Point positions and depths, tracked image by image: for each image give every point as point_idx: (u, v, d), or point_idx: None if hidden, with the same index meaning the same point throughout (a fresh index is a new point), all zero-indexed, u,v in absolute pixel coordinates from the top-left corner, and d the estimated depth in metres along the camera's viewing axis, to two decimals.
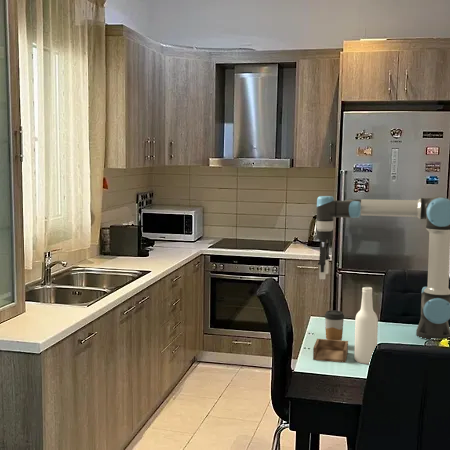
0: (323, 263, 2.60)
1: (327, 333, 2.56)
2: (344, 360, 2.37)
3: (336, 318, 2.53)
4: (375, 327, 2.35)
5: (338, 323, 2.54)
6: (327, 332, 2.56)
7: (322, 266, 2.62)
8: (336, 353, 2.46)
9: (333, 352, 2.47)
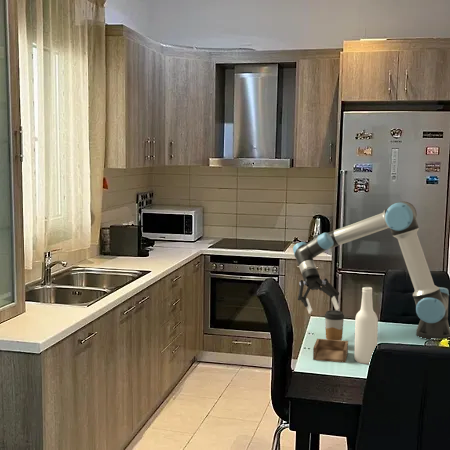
0: (299, 297, 2.65)
1: (327, 333, 2.56)
2: (344, 360, 2.37)
3: (336, 318, 2.53)
4: (375, 327, 2.35)
5: (338, 323, 2.54)
6: (327, 332, 2.56)
7: (303, 301, 2.65)
8: (336, 353, 2.46)
9: (333, 352, 2.47)
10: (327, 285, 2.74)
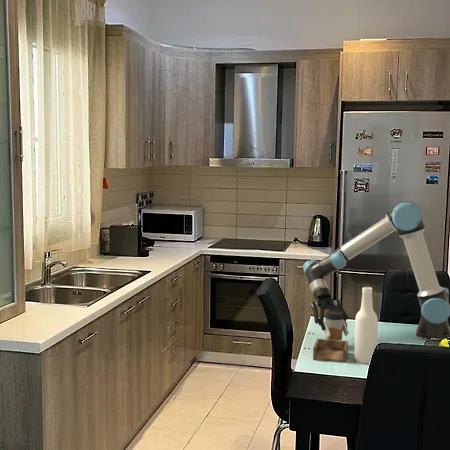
0: (316, 320, 2.56)
1: None
2: (344, 360, 2.37)
3: (336, 318, 2.53)
4: (375, 327, 2.35)
5: (338, 323, 2.54)
6: None
7: (321, 324, 2.56)
8: (336, 353, 2.46)
9: (333, 352, 2.47)
10: (338, 306, 2.65)
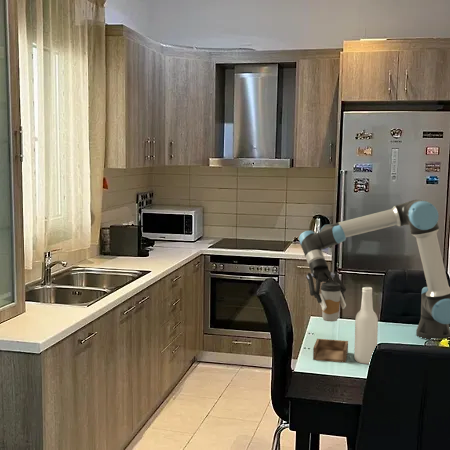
0: (312, 292, 2.43)
1: None
2: (344, 360, 2.37)
3: (332, 290, 2.39)
4: (375, 327, 2.35)
5: (335, 295, 2.40)
6: None
7: (316, 296, 2.43)
8: (336, 353, 2.46)
9: (333, 352, 2.47)
10: (335, 278, 2.51)
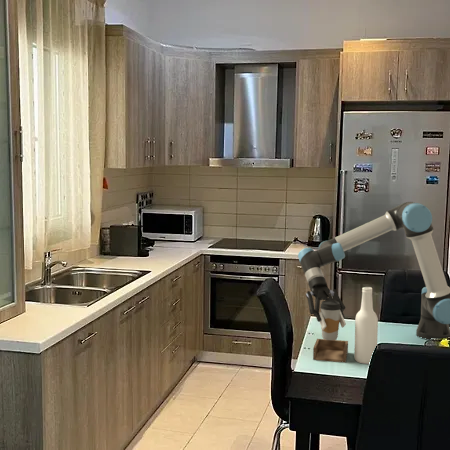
0: (311, 311, 2.42)
1: None
2: (344, 360, 2.37)
3: (332, 309, 2.39)
4: (375, 327, 2.35)
5: (335, 314, 2.40)
6: None
7: (316, 315, 2.42)
8: (336, 353, 2.46)
9: (333, 352, 2.47)
10: (334, 296, 2.50)
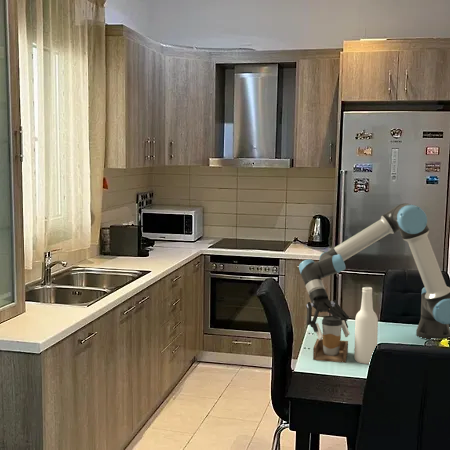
0: (308, 322, 2.43)
1: (324, 340, 2.43)
2: (344, 360, 2.37)
3: (333, 324, 2.40)
4: (375, 327, 2.35)
5: (336, 330, 2.41)
6: (324, 339, 2.43)
7: (313, 325, 2.43)
8: None
9: None
10: (336, 307, 2.51)
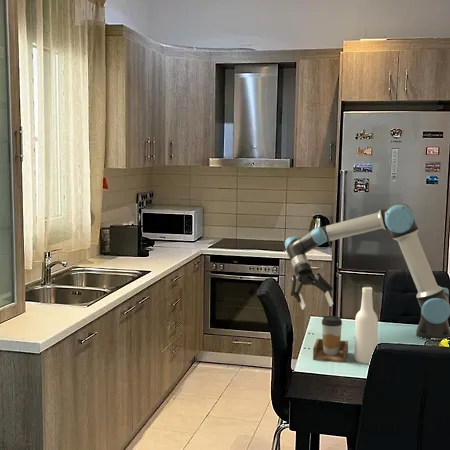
0: (292, 293, 2.58)
1: (324, 340, 2.43)
2: (344, 360, 2.37)
3: (333, 324, 2.40)
4: (375, 327, 2.35)
5: (336, 330, 2.41)
6: (324, 339, 2.43)
7: (296, 296, 2.58)
8: None
9: None
10: (320, 280, 2.67)
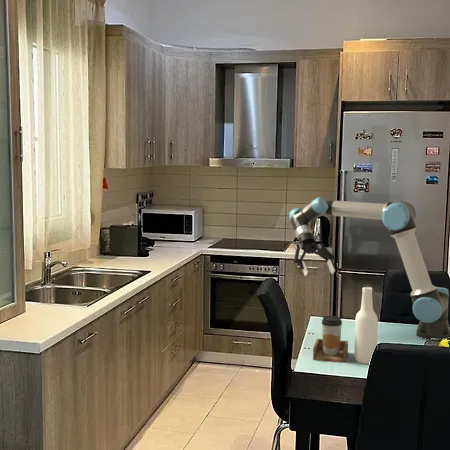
0: (295, 260, 2.69)
1: (324, 340, 2.43)
2: (344, 360, 2.37)
3: (333, 324, 2.40)
4: (375, 327, 2.35)
5: (336, 330, 2.41)
6: (324, 339, 2.43)
7: (299, 263, 2.69)
8: None
9: None
10: (323, 249, 2.78)
